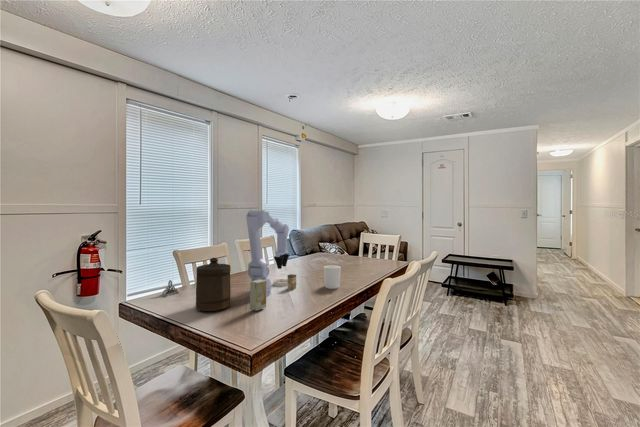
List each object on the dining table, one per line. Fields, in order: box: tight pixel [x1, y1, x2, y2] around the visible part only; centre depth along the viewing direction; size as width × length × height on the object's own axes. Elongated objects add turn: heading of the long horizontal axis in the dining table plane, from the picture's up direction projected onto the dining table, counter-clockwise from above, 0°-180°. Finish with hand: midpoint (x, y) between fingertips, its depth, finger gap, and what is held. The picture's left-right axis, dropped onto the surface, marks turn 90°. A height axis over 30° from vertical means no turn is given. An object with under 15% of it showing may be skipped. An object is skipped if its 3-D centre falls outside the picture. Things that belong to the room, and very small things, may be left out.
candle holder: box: [323, 264, 342, 290], centre depth 167 cm, size 10×10×12 cm
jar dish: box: [272, 278, 288, 287], centre depth 173 cm, size 9×9×2 cm
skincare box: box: [249, 279, 267, 311], centre depth 131 cm, size 6×4×12 cm
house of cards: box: [161, 279, 180, 298], centre depth 155 cm, size 9×9×8 cm
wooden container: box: [195, 257, 231, 312], centre depth 134 cm, size 15×15×22 cm
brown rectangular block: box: [287, 273, 297, 291], centre depth 163 cm, size 4×4×8 cm
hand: (281, 267), depth 173 cm, fingers open, 7 cm apart
